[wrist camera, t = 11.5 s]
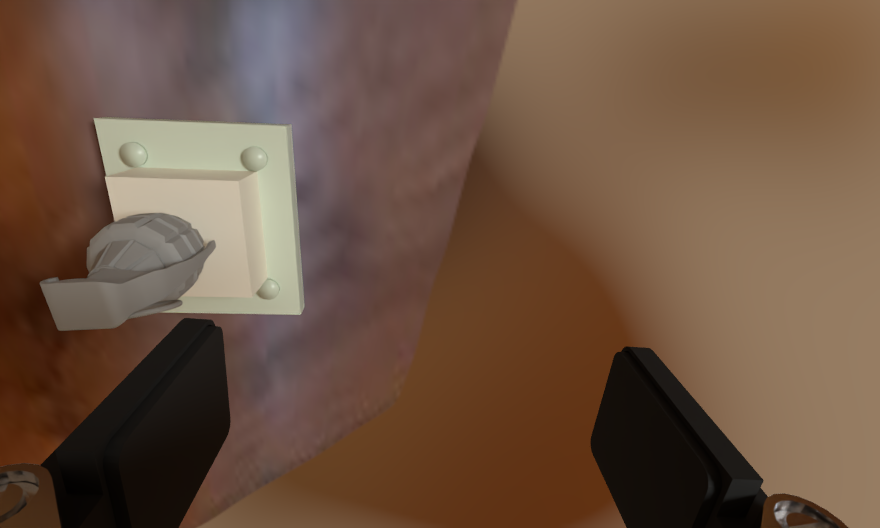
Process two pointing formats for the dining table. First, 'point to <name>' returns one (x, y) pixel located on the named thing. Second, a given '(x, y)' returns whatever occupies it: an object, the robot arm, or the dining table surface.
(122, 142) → the base plate
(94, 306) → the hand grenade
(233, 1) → the dining table surface
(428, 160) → the dining table surface
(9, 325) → the dining table surface
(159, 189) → the cream brick
